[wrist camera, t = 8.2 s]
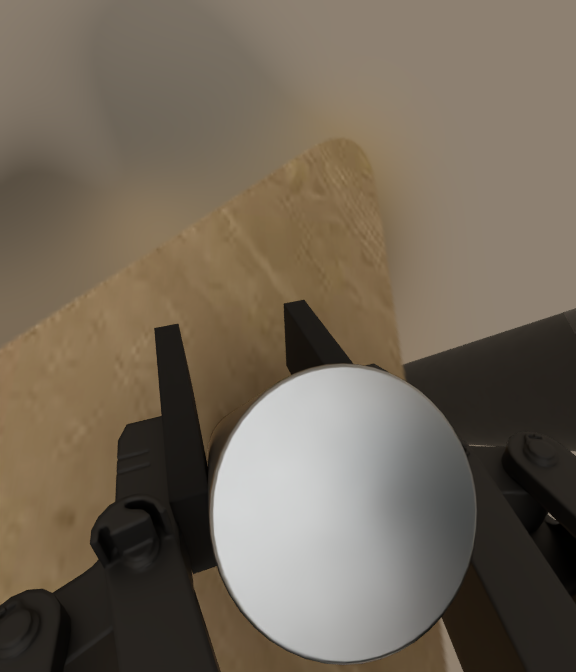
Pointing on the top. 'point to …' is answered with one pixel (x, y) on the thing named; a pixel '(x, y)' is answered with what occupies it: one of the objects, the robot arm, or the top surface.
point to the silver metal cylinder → (340, 513)
